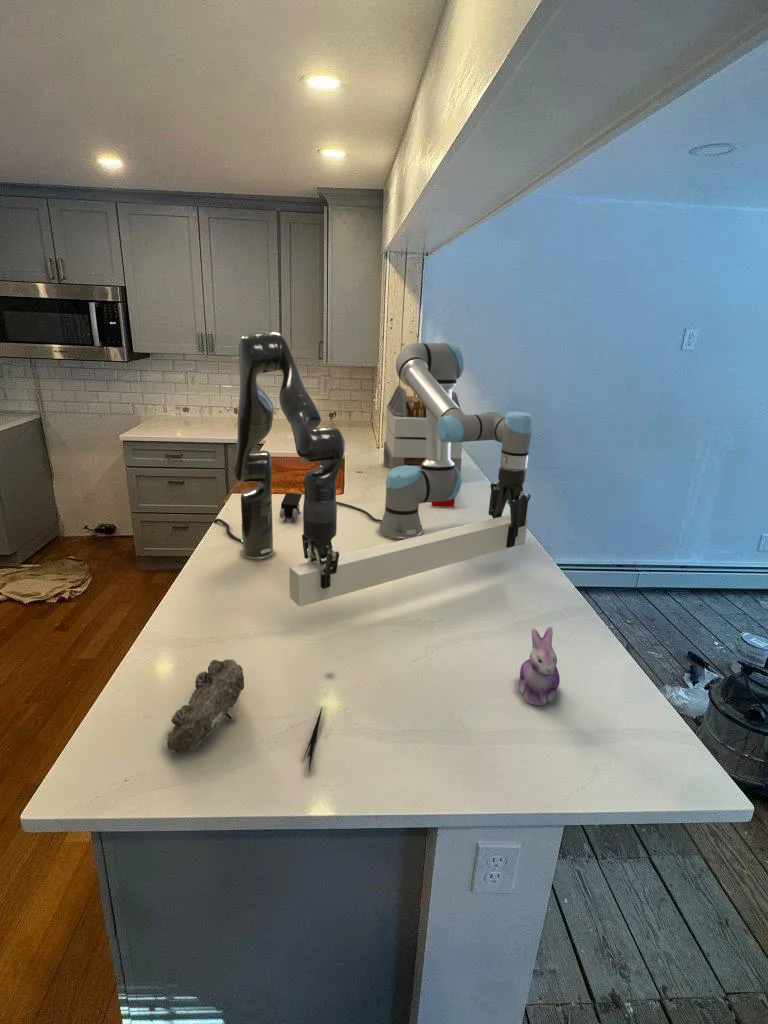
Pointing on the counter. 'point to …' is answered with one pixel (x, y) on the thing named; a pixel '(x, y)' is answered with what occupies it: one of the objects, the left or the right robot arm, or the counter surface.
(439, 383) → the right robot arm
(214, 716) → the fossil
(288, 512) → the figurine character
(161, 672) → the counter surface
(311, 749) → the feather
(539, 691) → the figurine
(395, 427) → the grey wooden crate
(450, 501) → the toy
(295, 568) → the beam
